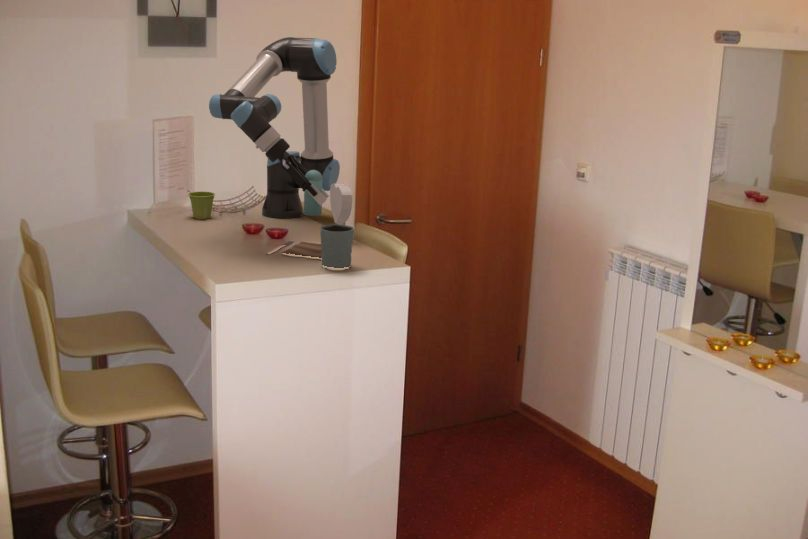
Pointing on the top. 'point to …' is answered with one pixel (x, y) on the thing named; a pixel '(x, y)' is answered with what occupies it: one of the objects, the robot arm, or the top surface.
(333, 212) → the heart sculpture
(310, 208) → the teal domed cylinder
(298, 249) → the board
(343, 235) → the grey textured cup
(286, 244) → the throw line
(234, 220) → the top surface
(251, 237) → the top surface
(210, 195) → the plant pot
